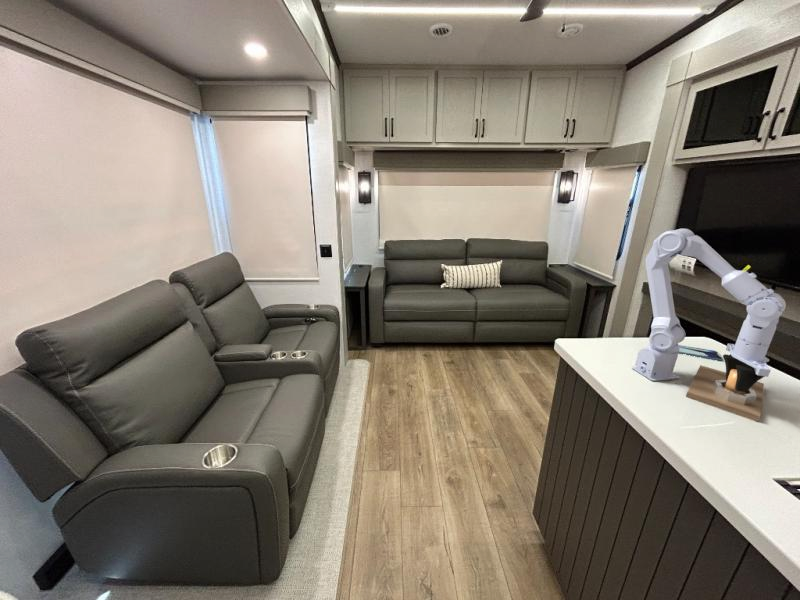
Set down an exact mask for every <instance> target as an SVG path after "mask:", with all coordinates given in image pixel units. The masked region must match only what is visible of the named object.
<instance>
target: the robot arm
mask: <svg viewBox="0 0 800 600" xmlns="http://www.w3.org/2000/svg"><path fill="white" fill-rule="evenodd" d="M679 254H680V256H685V257H686V256H687V257H691V258H696V260H698V261H699V262H701V263H702V264H704V265H705V266H706V267H707V268H708V269H709V270H711V271H712V272H713V273H715V275H717V276H718V277H720V278H721V287H723V289H725V290H726V291H727V292H728V293H730V295H732V296H733V297H734V298H735V299H736V300H738V302H739V303H741V304H742V305H745V306H746V312H747V315H746V317H745V319H744V320H743V323H742V326H741V328H740V331H739V333H738V335H737V339H736V342H735V343H727V345H726V348H725V350H726V351H727V352H729V353H730V354H726V353H725V354H723V355H722V358H723V360H724V363H725V372H726V381H727V379H728V376H729V374H730V371H731V370H732V369H737V380H736V385H735V389H736V390H737V391H741V392H747V391H748V390H749V389H750V388H751V387H752V386H753V385H754V384H755V383H756V382H759V381H760V380H761V379H764V378H766V377H769V375H770V374H771V373H770V372H771V369H770V368H769V366H768V365H767V363H768V362H769V361H770V359H769V358H768V357H767V356H766V355H767V352H768V350H769V348H770V346H771V345H770V344H771V342H772V340H773V338H774V335H775V332H776V330H777V325H778V324H779V322H780V321H779V320H780V319H779V318H780V317H781V316H782V314H783V313H784V311H785V309H786V308H787V303H786V301H785V299H784V298H783V297H782V295H781V294H778V293H776V292H775V291H774V289H773V288H769V289H768V288H767V287H766V286H765V285H764V284H762V282H760V280H758V279H757V277H758V276H757V274H755V273H754V272H751V273H749V272H748V271H747V270H737V269H736V268H734V267H733V266H732V265H731V264H730V263H729V262H728V261H727V260H726V259H724V258H723V257H722V256H721V254H719V253H718V252H717V251H716V250H715V249H714V248H712V246H711V245H709V244H708V243H707V241H705V240H704V239H703V238H702V237H701V236H699V235H697V234H696V235H695V233H694V232H693V231H692V230H690V229H689V228H679V229H675V230H673V229H672V230H667V231H665V232H663V233H661V234H659V236H657V238H655V239H654V240H653V242H652V247H651V249H650V250H649V252H648V254H647V255H646V258H645V268H646V274H647V275H646V276H647V282H648V289H649V294H650V296H649V297H650V301H651V308H652V316H653V319H652V322H651V326H650V328H651V329H650V330H651V332H650V335H649V337H648V340H649V344H648V346H646V347H643V348H641V349H639V351H638V353H637V356H636V359H635V363H634V365H633V366H631V369H632V370H635V371H636V372H637V373H639V374H641V375H642V376H644V377H645V378H647V379H648V380H650V381H652V382H657V381H658V382H659V381H667V380H676V379H680V376H679V375H677V374H676V373H673V372H674V369H675V367H676V363H677V360H678V357H679V350H680V349H679V346H678V345H679V344H680V343H682V342H683V341H684V340H685V338H686V331H685V329H684V328H683V327H682V326H681V322H680V319H679V318H678V316H677V315H676V310H675V309H676V308H675V303H674V298H673V290H672V282H671V276H670V267H669V263H670V262H671V261H672V260H674V259H675V258H676V257H677V255H679Z"/></svg>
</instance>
